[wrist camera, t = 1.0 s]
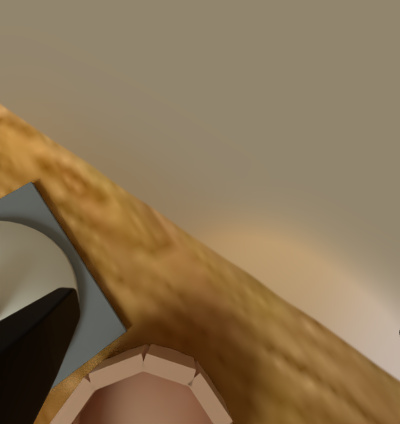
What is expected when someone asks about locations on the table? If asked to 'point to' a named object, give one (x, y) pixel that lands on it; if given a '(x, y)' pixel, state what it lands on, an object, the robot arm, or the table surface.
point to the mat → (88, 288)
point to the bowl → (145, 391)
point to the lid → (30, 267)
